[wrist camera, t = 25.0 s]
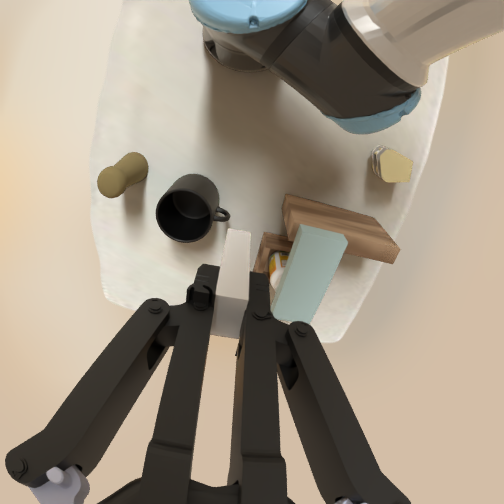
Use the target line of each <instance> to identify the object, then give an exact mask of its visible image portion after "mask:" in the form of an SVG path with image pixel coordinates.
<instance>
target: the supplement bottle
mask: <svg viewBox="0 0 504 504" xmlns="http://www.w3.org/2000/svg"><path fill="white" fill-rule="evenodd" d="M289 254H290V252H285V251H280V250H279V251H276V252H274V253H273V254H272V255H271V256H270V259H269V271H270V283H271V286H272V287H273V288H274V289H275V293H276V291H277V288H278V285H279V283H280V280H281V277H282V274H283V272H284V269H285V266H286V263H287V260H288V257H289Z"/></svg>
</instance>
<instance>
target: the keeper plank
mask: <svg viewBox="0 0 504 504" xmlns="http://www.w3.org/2000/svg"><path fill="white" fill-rule="evenodd" d="M347 244H348V241H347V240H346V238H345V236H344V234H340V233H336V232H332V231H328V230H324V229H320V228H316V227H311V226H307V225H303V224H300V225H299V228H298V231H297V234H296V237H295V240H294V243H293V246H292V249H291V252H290V254H289V257H288V260H287V263H286V266H285V269H284V272H283V274H282V277H281V280H280V283H279V285H278V288H277V291H276V294H275V296H274V299H273V302H272V305H271V307H270V310H271V312H272V313H273V316H274V317H275V318H276V319H278V320H284V321H291V322H294V321H303V322H306V323H308V324H310V322H311V320H312V319H313V317H314V315H315V313H316V311H317V309H318V307H319V305H320V303H321V301H322V299H323V296H324V294H325V292H326V290H327V288H328V286H329V284H330V282H331V280H332V278H333V275H334V273H335V271H336V269H337V267H338V264H339V262H340V260H341V258H342V256H343V253H344V251H345V249H346V246H347Z"/></svg>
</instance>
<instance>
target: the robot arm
mask: <svg viewBox="0 0 504 504" xmlns="http://www.w3.org/2000/svg"><path fill="white" fill-rule="evenodd" d="M189 3H190V5H191V10H192V13H193V14H194V16H195V17H196V19H197V20H198V21H199V22H201V24H202V25H203V40H204V44H205V46H206V48H207V50H208V51H209V53H210V54H211V55H212V56H213V57H214V58H215V59H216V60H217V61H218V62H219V63H221V64H222V65H224V66H226V67H228V68H230V69H233V70H237V71H242V72H257V71H262V70H266V69H269V70H270V71H271V72H273V73H274V74H276V75H277V76H278V77H280V78H281V79H282V80H284V81H285V82H286V83H287V84H289V85H290V86H291V87H293V88H294V89H295V90H296V91H298V92H299V93H300V94H301V95H302V96H304V97H305V98H306V99H307V100H308V101H310V102H311V103H312V104H313V105H314V106H316V107H317V108H318V109H319V110H320V111H321V113H322V114H323V115H325V116H326V117H327V118H329V119H332V120H333V121H334V122H335V123H337V124H338V125H339V126H340V127H341V128H343V129H344V130H346V131H348V132H350V133H353V134H370V133H375V132H378V131H381V130H384V129H386V128H388V127H390V126H392V125H394V124H396V123H397V122H399V121H400V120H401V117H402V116H403V115H408V114H409V113H410V112H411V111H412V110H413V109H414V108H415V107H416V106H417V104H418V102H419V100H420V97H421V88H420V87H422V86H423V85H425V84H426V83H427V80H428V72H429V66H430V64H432V63H434V62H436V61H438V60H440V59H442V58H444V57H446V56H448V55H450V54H452V53H454V52H457V51H459V50H461V49H463V48H465V47H467V46H469V45H471V44H474V43H476V42H478V41H480V40H483V39H485V38H487V37H490V36H492V35H495V34H497V33H499V32H501V31H504V0H343V1H342V2H341V3H340V4H339V5H338V6H337V5H336V4H335V3H333V2H332V1H331V0H189ZM250 244H251V232H247V231H241V230H236V229H230V228H228V231H227V235H226V240H225V246H224V251H223V256H222V261H221V266H220V267H219V266H213V265H208V264H202V265H201V266H200V267H199V268H198V271H197V274H196V277H195V281H194V284H192V285H190V286H189V287H188V289H187V296H186V302H185V303H183V304H181V305H175V306H169V305H168V303H167V302H166V301H164V300H162V299H159V298H151V299H148V300H146V301H145V302H144V303H143V304H142V305H141V306H140V307H139V308H138V309H137V311H136V312H135V313H134V314H133V315H132V317H131V318H130V319H129V320H128V321H127V322H126V324H125V325H124V326H123V327H122V328H121V330H120V331H119V332H118V333H117V335H116V336H115V337H114V338H113V339H112V341H111V342H110V343H109V344H108V346H107V347H106V348H105V349H104V350H103V352H102V353H101V354H100V356H99V357H98V358H97V359H96V361H95V362H94V363H93V364H92V366H91V367H90V368H89V370H88V371H87V372H86V373H85V375H84V376H83V377H82V378H81V380H80V381H79V382H78V384H77V385H76V386H75V388H74V389H73V390H72V392H71V393H70V394H69V396H68V397H67V398H66V400H65V401H64V402H63V404H62V405H61V407H60V408H59V409H58V411H57V412H56V414H55V415H54V416H53V418H52V419H51V420H50V422H49V423H48V425H47V426H46V427H45V429H44V430H42V431H41V432H39V433H38V434H36V435H35V436H33V437H32V438H30V439H28V440H27V441H25V442H24V443H22V444H20V445H19V446H17V447H15V448H14V449H12V450H11V451H10V452H9V453H8V454H7V456H6V459H5V465H6V469H7V471H8V473H9V474H10V475H11V477H12V478H13V479H14V480H16V481H17V482H19V483H21V484H23V485H25V486H28V487H29V488H30V489H31V491H32V492H33V494H34V495H35V497H36V498H37V499H38V501H39V502H40V503H41V504H83V503H84V499H85V498H86V497H87V495H88V493H89V490H90V487H89V483H88V480H87V479H86V477H87V476H88V475H89V474H90V473H91V472H92V471H93V469H94V468H95V467H96V466H97V464H98V463H99V461H100V460H101V458H102V457H103V455H104V453H105V451H106V450H107V448H108V446H109V445H110V443H111V441H112V440H113V438H114V436H115V435H116V433H117V431H118V430H119V428H120V426H121V425H122V423H123V421H124V420H125V418H126V417H127V415H128V413H129V412H130V410H131V408H132V407H133V405H134V403H135V402H136V400H137V399H138V397H139V395H140V394H141V392H142V390H143V389H144V387H145V386H146V384H147V382H148V381H149V379H150V378H151V376H152V374H153V373H154V371H155V370H156V368H157V366H158V365H159V363H160V361H161V360H162V358H163V357H164V355H165V354H166V352H167V350H168V349H169V346H174V349H173V352H172V356H171V360H170V364H169V368H168V372H167V376H166V380H165V384H164V389H163V393H162V397H161V401H160V405H159V410H158V414H157V419H156V423H155V429H154V433H153V438H152V440H151V441H150V442H149V445H148V448H147V452H146V457H145V462H144V468H143V473H142V477H141V478H138V479H135V480H134V481H131V482H129V483H128V484H126V485H125V486H124V487H122V488H121V489H119V490H118V491H116V492H115V493H113V494H112V495H110V496H108V497H107V498H105V499H104V500H102V501H101V502H99V503H97V504H295V503H294V502H293V501H292V500H291V499H290V498H288V497H287V478H286V476H287V475H286V463H285V459H284V458H283V457H282V456H281V453H280V452H281V451H280V427H279V403H278V382H277V373H278V376H279V379H280V382H281V385H282V388H283V391H284V394H285V397H286V400H287V402H288V405H289V408H290V411H291V414H292V417H293V420H294V423H295V426H296V428H297V431H298V434H299V437H300V440H301V442H302V445H303V448H304V451H305V454H306V457H307V459H308V462H309V465H310V468H311V471H312V473H313V476H314V479H315V482H316V484H317V487H318V489H319V491H320V494H321V495H322V497H323V499H324V501H325V502H326V504H411V502H410V501H409V499H408V498H407V497H406V496H405V495H404V494H403V493H402V492H401V491H400V490H399V489H398V488H397V487H396V486H395V485H394V484H393V483H392V482H391V481H390V480H389V479H388V478H387V477H386V476H385V475H384V474H383V473H382V472H381V471H380V469H379V466H378V464H377V462H376V459H375V457H374V455H373V453H372V451H371V448H370V446H369V444H368V442H367V440H366V437H365V435H364V433H363V431H362V429H361V427H360V424H359V422H358V420H357V418H356V416H355V414H354V412H353V409H352V407H351V405H350V403H349V401H348V399H347V397H346V395H345V392H344V390H343V389H342V386H341V384H340V382H339V380H338V378H337V376H336V374H335V372H334V369H333V367H332V365H331V363H330V361H329V359H328V357H327V355H326V353H325V351H324V349H323V347H322V345H321V343H320V341H319V339H318V337H317V335H316V333H315V331H314V329H313V328H312V326H310V325H309V324H308V323H306V322H303V321H294V322H292V323H291V324H290V325H288V324H285V323H283V322H281V321H278V320H277V319H276V318H275V317H274V316H273V313H272V312H271V310H270V293H269V280H268V278H267V276H266V275H265V274H263V273H257V272H251V271H250ZM210 335H216V336H222V337H229V338H236V339H239V343H238V347H237V351H236V354H235V356H237V361H236V376H235V391H234V406H233V407H234V408H233V422H232V439H231V454H230V455H231V456H230V468H229V474H228V481H227V486H221V487H211V486H208V485H205V484H202V483H199V482H196V481H194V480H191V469H192V460H193V451H194V443H195V436H196V428H197V420H198V412H199V405H200V398H201V391H202V384H203V377H204V371H205V364H206V357H207V351H208V345H209V338H210Z"/></svg>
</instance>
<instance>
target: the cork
mask: <svg viewBox="0 0 504 504" xmlns="http://www.w3.org/2000/svg"><path fill="white" fill-rule="evenodd" d="M147 173H148V163H147V160H146V159H145V157H144V156H143V155H141V154H139V153H137V152H131V153H128V154H127V155H125V156H124V157H123V158H122V159H121V160H120V161H119V162H118V163H116V164H115V165H114V166H110V167H107V168H105V169H104V170H103V171H102V172H101V173H100V175H99V176H98V180H97V184H98V189H99V191H100V192H101V194H103V195H104V196H106V197H108V198H115V197H118V196H120V195H121V194H122V193H123V192H124V191H125V189H126V187H129V186H131V185H133V184H135V183H138V182H140V181H141V180H143V179H144V178H145V177H146V175H147Z"/></svg>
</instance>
